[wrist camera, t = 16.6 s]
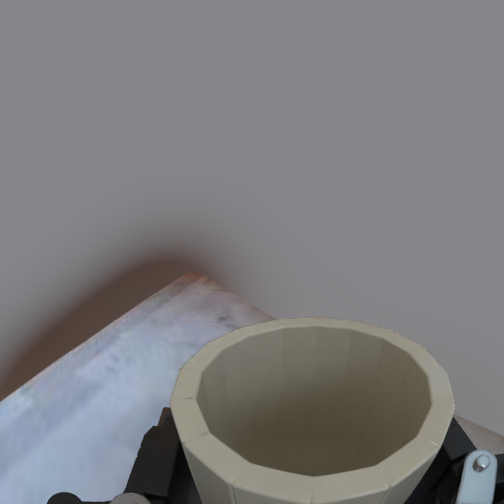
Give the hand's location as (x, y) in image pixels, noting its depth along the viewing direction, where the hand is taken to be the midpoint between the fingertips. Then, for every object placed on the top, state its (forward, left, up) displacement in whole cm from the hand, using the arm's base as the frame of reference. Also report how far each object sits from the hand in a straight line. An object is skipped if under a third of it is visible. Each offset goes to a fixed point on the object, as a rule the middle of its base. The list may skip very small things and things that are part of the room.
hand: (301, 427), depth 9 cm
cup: (0, +2, -7) cm, 7 cm away
